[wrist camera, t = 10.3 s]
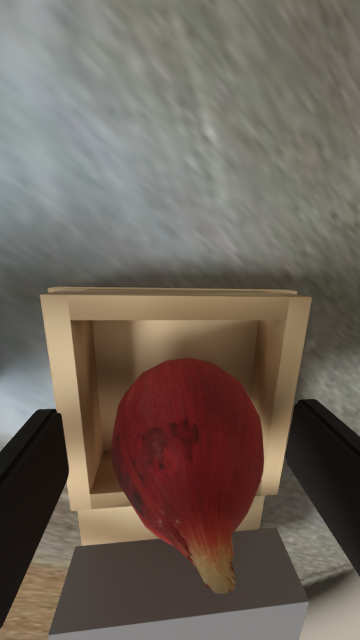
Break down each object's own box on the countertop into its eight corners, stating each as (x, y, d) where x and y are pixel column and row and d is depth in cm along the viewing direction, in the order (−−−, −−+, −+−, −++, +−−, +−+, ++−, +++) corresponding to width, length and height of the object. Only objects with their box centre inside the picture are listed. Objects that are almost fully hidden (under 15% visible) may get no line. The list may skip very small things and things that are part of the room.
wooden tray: (57, 286, 11) (-39, 302, 6) (286, 289, 12) (382, 305, 7) (91, 564, 16) (57, 706, 11) (248, 548, 18) (286, 670, 12)
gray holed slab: (75, 546, 10) (48, 635, 7) (276, 527, 10) (309, 601, 8) (92, 665, 12) (76, 760, 10) (255, 641, 13) (276, 724, 10)
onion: (121, 417, 12) (50, 673, 4) (138, 326, 11) (81, 462, 3) (213, 429, 13) (289, 665, 5) (239, 345, 12) (389, 493, 4)
